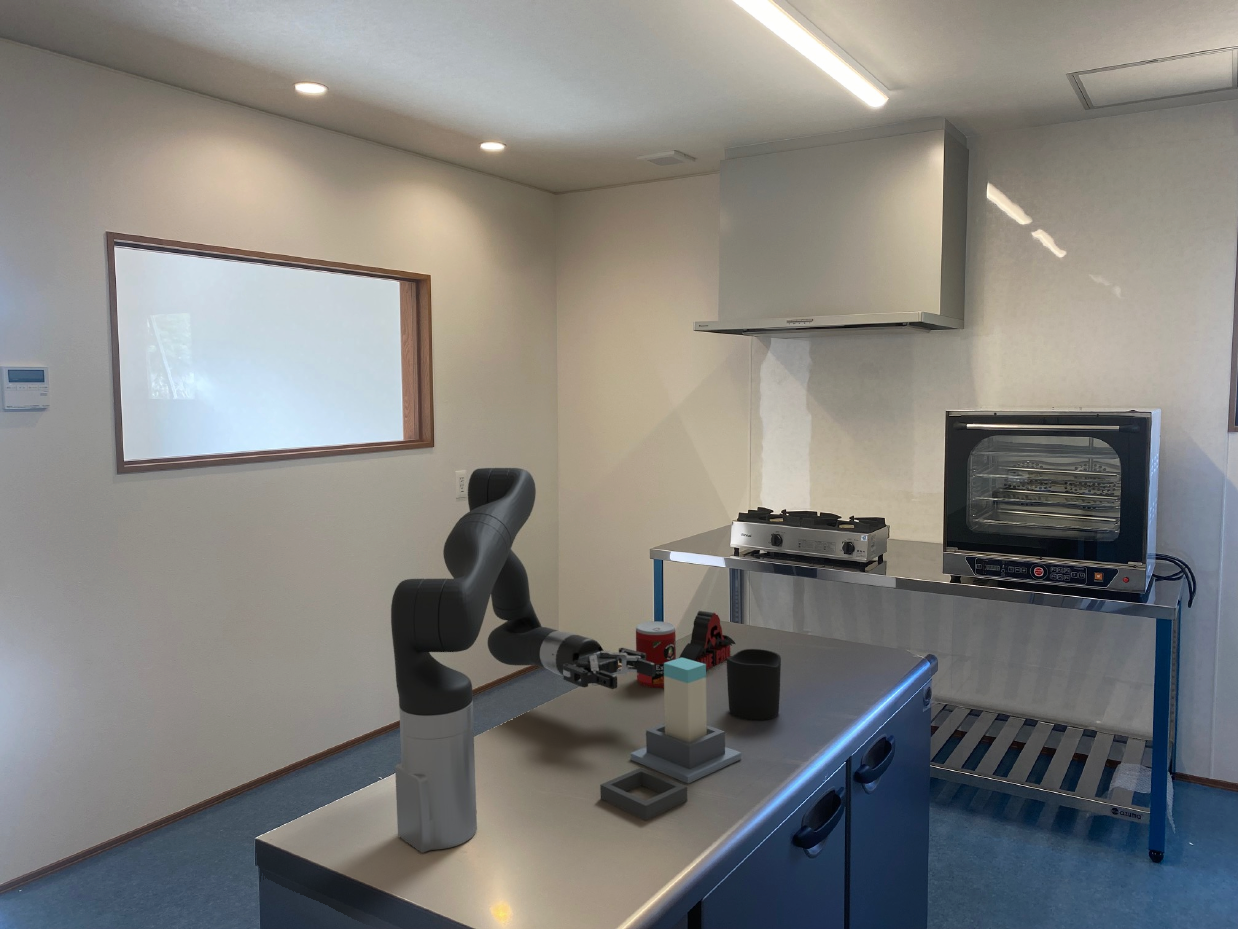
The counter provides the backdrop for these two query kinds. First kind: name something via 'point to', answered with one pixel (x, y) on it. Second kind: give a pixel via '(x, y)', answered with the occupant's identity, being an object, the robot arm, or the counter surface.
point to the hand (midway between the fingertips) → (635, 676)
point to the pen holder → (754, 684)
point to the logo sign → (707, 641)
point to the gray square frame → (621, 798)
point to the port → (685, 754)
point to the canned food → (656, 649)
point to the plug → (685, 699)
